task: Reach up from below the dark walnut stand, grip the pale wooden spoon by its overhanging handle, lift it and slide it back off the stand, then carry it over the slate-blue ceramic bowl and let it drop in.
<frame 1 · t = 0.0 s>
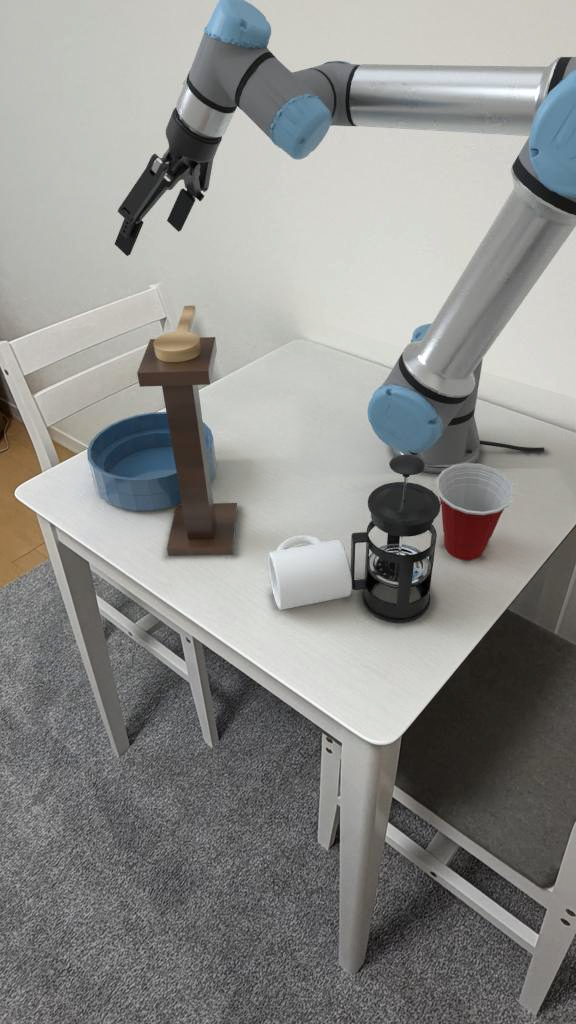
hand: (149, 237, 112), 36 cm above the table, tool tilted 35°, fingers open, 13 cm apart
plastic cup: (464, 549, 103), on the table
bowl: (157, 477, 121), on the table
french press: (392, 599, 96), on the table
stand: (204, 532, 109), on the table
mug: (306, 586, 98), on the table
spoon: (180, 344, 92), point 30 cm above the table, touching stand
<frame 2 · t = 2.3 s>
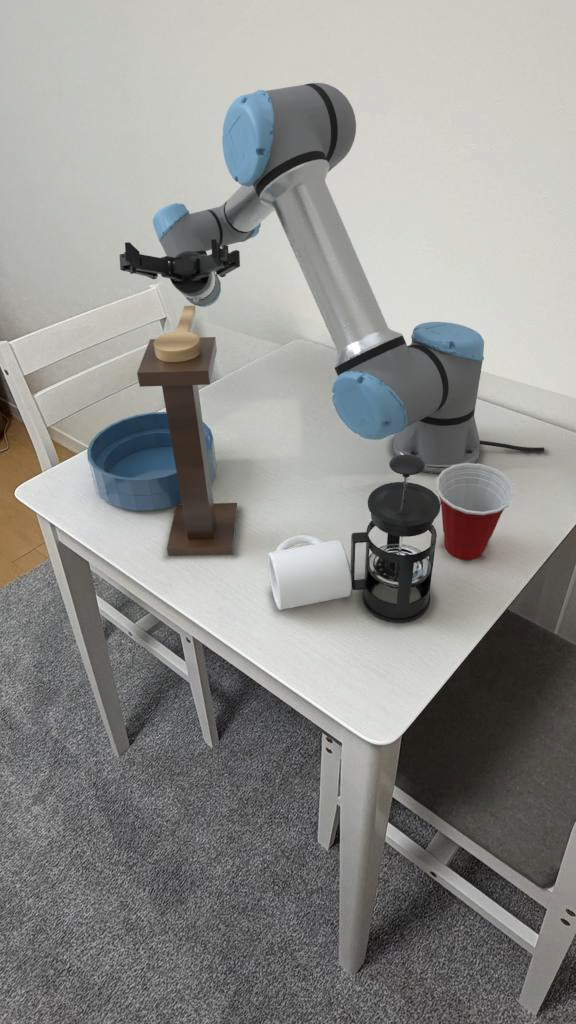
hand: (170, 249, 107), 36 cm above the table, tool pointing upward, fingers open, 13 cm apart
nothing on the table moved.
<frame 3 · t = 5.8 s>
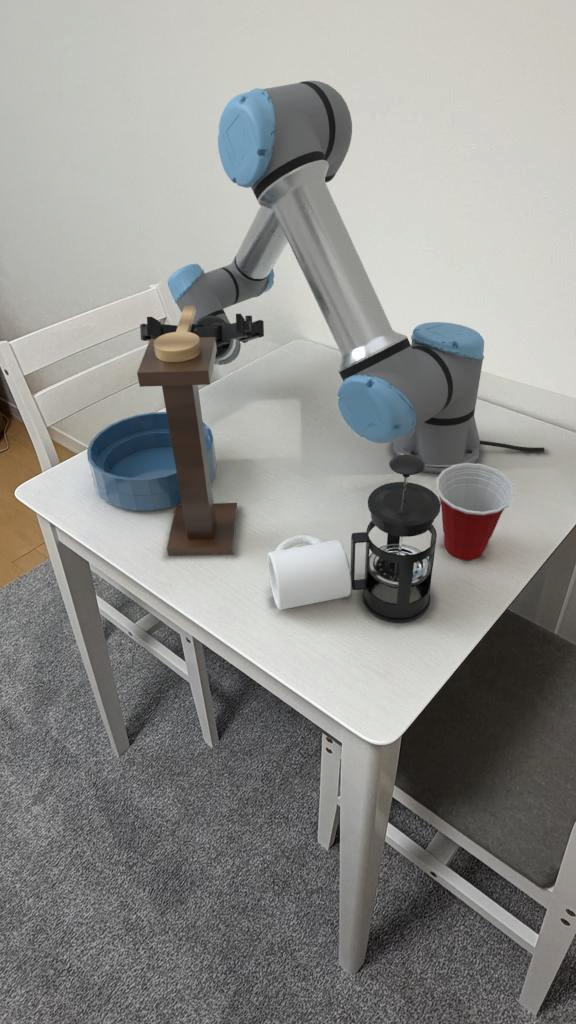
hand: (194, 324, 104), 28 cm above the table, tool pointing upward, fingers open, 13 cm apart
nothing on the table moved.
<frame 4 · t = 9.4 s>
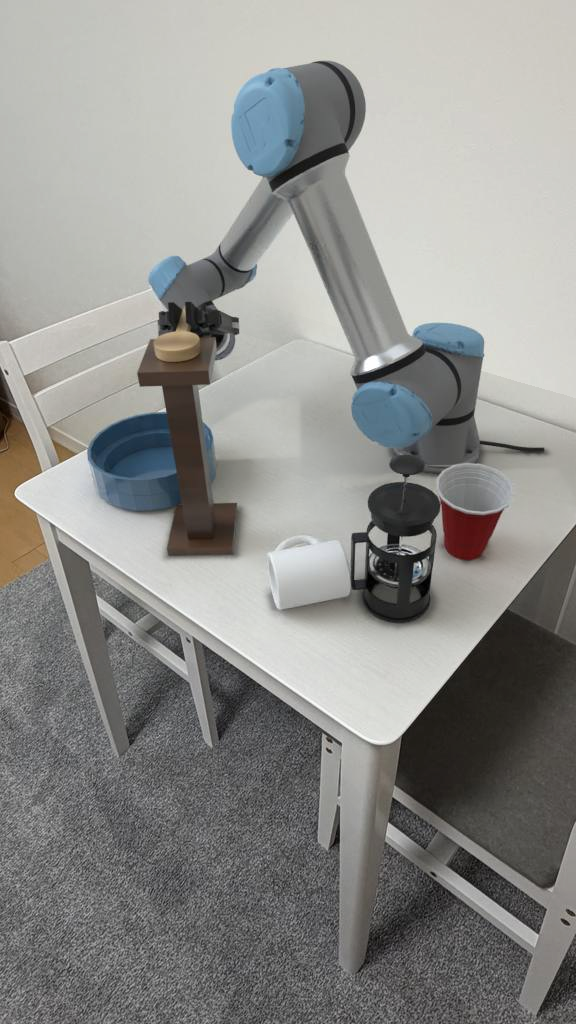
hand: (179, 312, 92), 34 cm above the table, tool pointing upward, fingers closed on spoon, 2 cm apart
spoon: (180, 343, 92), point 31 cm above the table, touching gripper
everything else where it was.
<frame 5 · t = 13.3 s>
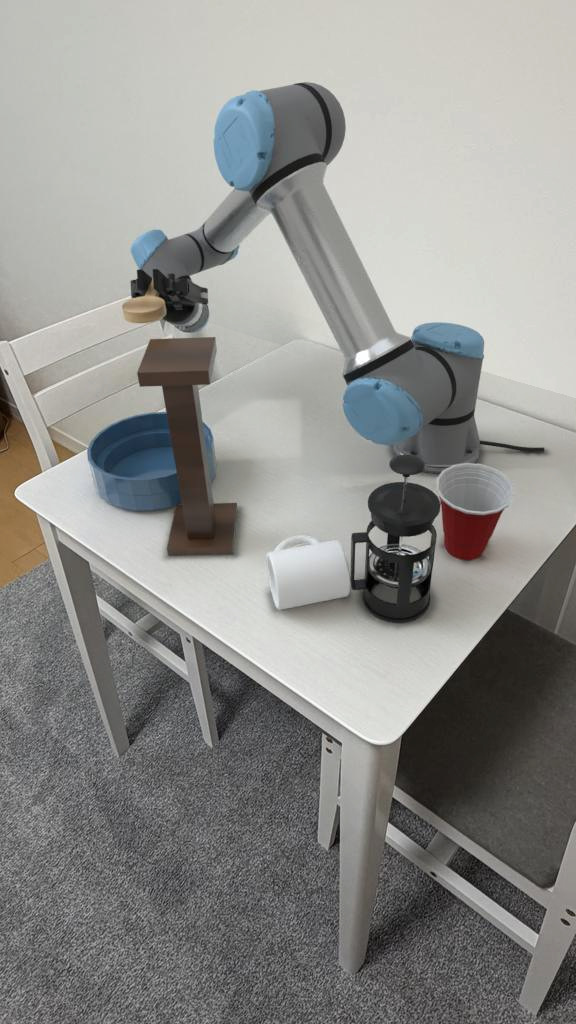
hand: (147, 279, 99), 35 cm above the table, tool pointing upward, fingers closed on spoon, 2 cm apart
spoon: (148, 308, 99), point 32 cm above the table, touching gripper
everything else where it was.
when the fingers open (21 cm above the table, at t = 17.5 s): spoon drops 17 cm, resting on bowl.
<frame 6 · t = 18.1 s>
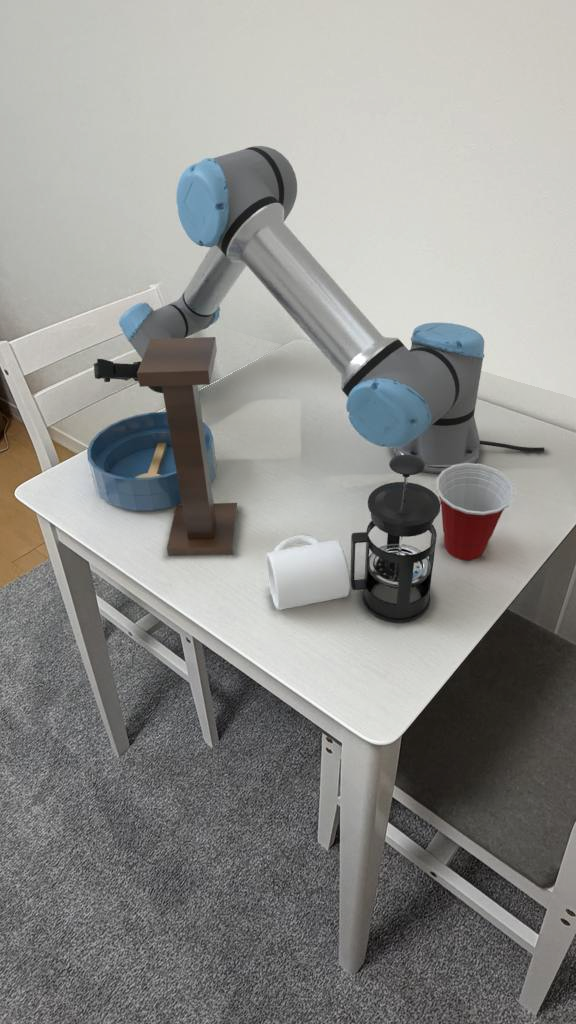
hand: (138, 366, 109), 21 cm above the table, tool pointing upward, fingers open, 12 cm apart
spoon: (151, 482, 118), point 1 cm above the table, touching bowl
everything else where it was.
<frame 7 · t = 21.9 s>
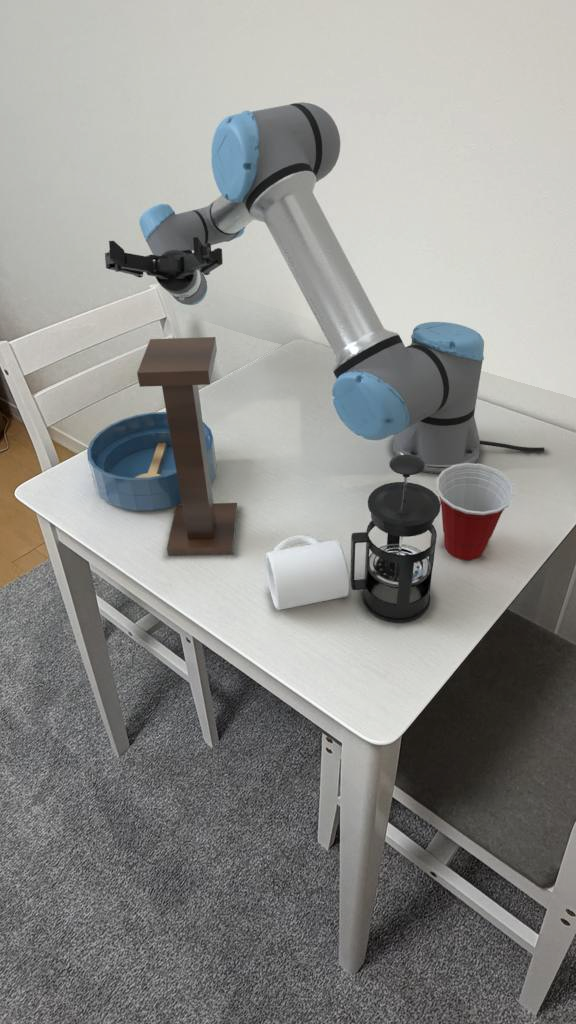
hand: (153, 247, 110), 35 cm above the table, tool pointing upward, fingers open, 13 cm apart
nothing on the table moved.
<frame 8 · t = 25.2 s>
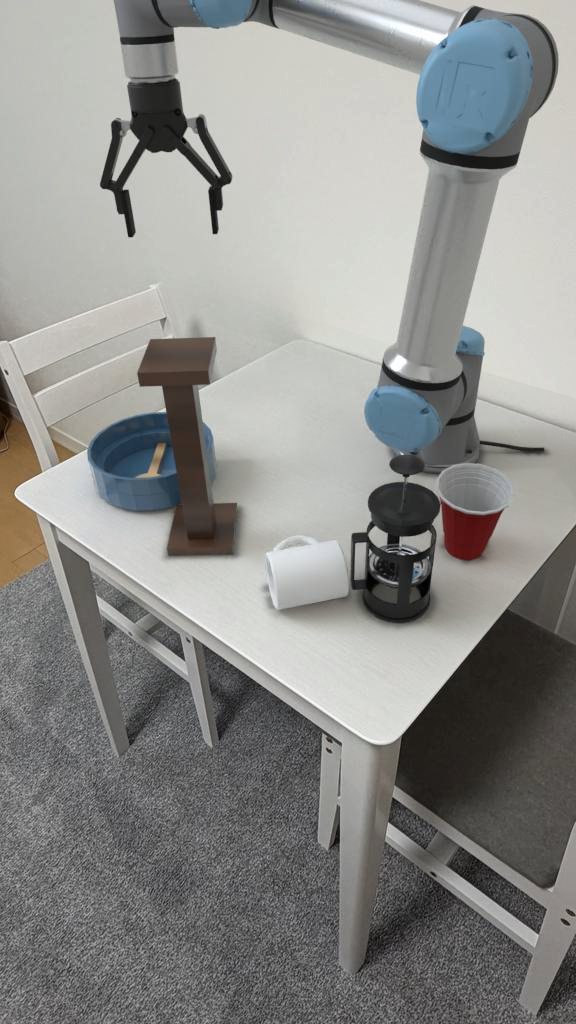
hand: (173, 233, 111), 37 cm above the table, tool pointing down, fingers open, 13 cm apart
nothing on the table moved.
at the end: spoon inside the target area in the bowl (2.6 cm from its centre), point 0.8 cm above the bowl's base; the gripper is holding nothing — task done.
